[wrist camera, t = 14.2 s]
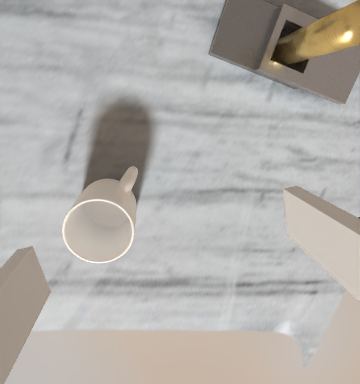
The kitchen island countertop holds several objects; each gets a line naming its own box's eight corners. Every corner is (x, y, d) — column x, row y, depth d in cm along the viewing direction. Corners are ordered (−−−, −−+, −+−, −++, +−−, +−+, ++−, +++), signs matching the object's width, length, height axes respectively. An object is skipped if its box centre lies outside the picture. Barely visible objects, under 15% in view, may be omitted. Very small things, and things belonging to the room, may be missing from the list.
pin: (270, 40, 40) (340, 3, 26) (295, 35, 40) (378, -4, 26) (272, 68, 41) (341, 48, 27) (297, 63, 41) (378, 40, 27)
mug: (113, 144, 41) (102, 157, 32) (161, 176, 43) (165, 196, 34) (70, 211, 43) (48, 242, 34) (118, 238, 46) (110, 274, 36)
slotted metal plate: (208, 54, 39) (213, 50, 37) (229, -10, 37) (236, -19, 35) (332, 104, 43) (346, 104, 40) (357, 49, 41) (373, 44, 39)
